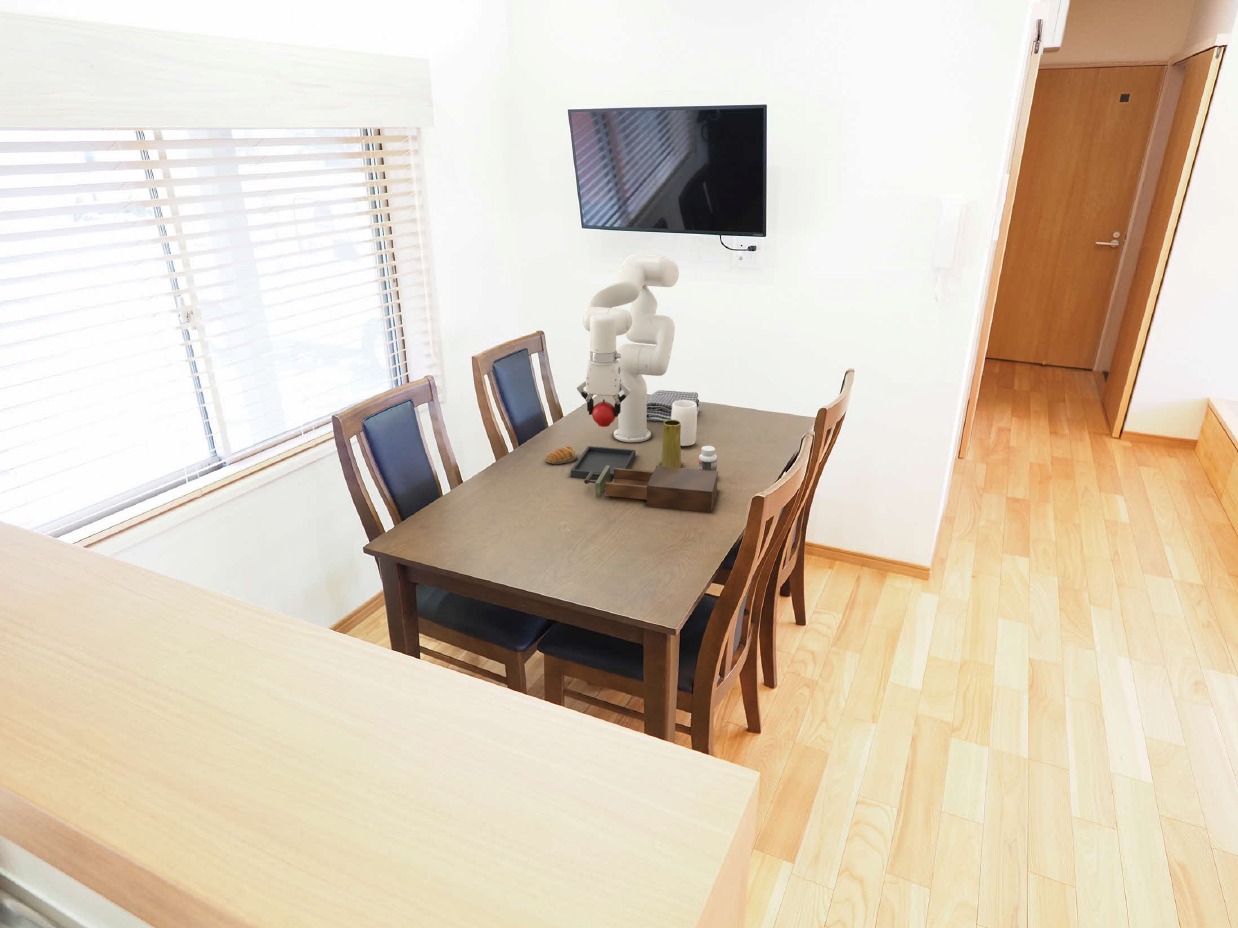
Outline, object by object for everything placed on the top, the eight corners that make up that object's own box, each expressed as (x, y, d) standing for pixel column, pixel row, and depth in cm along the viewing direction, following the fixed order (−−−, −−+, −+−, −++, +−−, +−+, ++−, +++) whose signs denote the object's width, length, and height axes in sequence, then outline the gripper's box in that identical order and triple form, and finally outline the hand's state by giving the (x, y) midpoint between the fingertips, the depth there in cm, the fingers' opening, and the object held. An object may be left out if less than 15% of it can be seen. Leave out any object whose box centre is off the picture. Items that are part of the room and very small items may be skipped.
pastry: (553, 467, 241) (553, 456, 240) (541, 461, 246) (541, 449, 244) (578, 460, 246) (578, 448, 245) (566, 453, 251) (565, 442, 250)
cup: (701, 444, 258) (703, 403, 252) (685, 451, 252) (686, 410, 247) (681, 438, 263) (682, 397, 258) (665, 445, 258) (665, 404, 252)
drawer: (581, 495, 221) (580, 481, 219) (592, 477, 232) (592, 463, 230) (653, 502, 216) (654, 488, 215) (662, 484, 228) (662, 470, 226)
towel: (652, 407, 292) (652, 387, 289) (701, 411, 287) (702, 391, 284) (642, 421, 278) (642, 400, 275) (693, 426, 274) (694, 404, 271)
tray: (588, 452, 252) (587, 445, 251) (635, 456, 249) (635, 449, 248) (570, 477, 235) (570, 470, 234) (621, 481, 231) (621, 474, 230)
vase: (675, 471, 238) (676, 427, 232) (657, 467, 241) (658, 423, 235) (684, 464, 243) (685, 421, 237) (667, 460, 246) (668, 417, 240)
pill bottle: (694, 479, 233) (695, 448, 229) (704, 473, 237) (705, 443, 233) (709, 483, 230) (710, 453, 226) (719, 478, 233) (721, 447, 230)
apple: (595, 419, 240) (595, 394, 237) (618, 421, 238) (618, 396, 235) (589, 428, 233) (588, 402, 230) (613, 430, 232) (612, 404, 229)
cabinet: (646, 506, 217) (646, 485, 214) (655, 485, 229) (656, 465, 226) (711, 512, 213) (712, 491, 210) (716, 491, 225) (717, 471, 223)
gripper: (635, 355, 229) (635, 412, 236) (577, 351, 233) (579, 408, 240) (629, 362, 222) (629, 421, 229) (570, 358, 226) (572, 416, 233)
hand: (603, 414), depth 234 cm, fingers closed on apple, 7 cm apart
